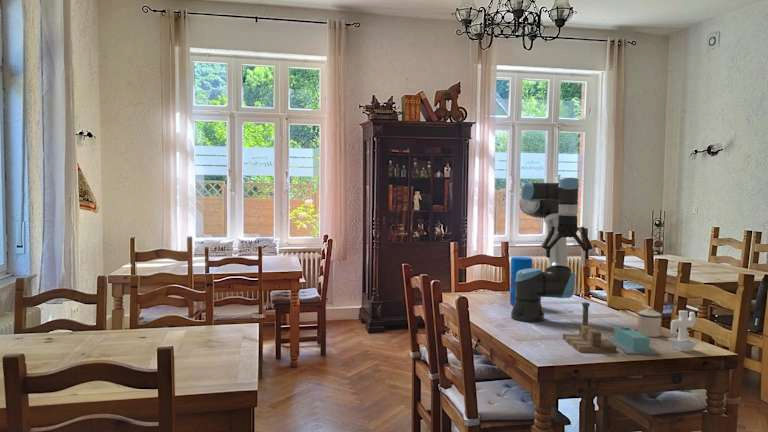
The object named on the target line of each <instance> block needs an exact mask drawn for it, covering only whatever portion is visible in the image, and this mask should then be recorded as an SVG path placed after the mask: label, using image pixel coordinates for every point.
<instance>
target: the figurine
mask: <svg viewBox="0 0 768 432" xmlns="http://www.w3.org/2000/svg"><path fill="white" fill-rule="evenodd" d="M688 315H689V316H688ZM695 323H696V313H695V312H694V311H689V313H688V310H678V319H672V320H671V322H670V334H671V335H677V330H678V335H677V337H667V340H668V343H669V344H670V346H671V348H672V349H673V348H674V350H675V351H678V350H679V352H681V351H684V352H692V351H693V349H694V348H695V347H696V346H697V344H698V342H697V341H696V340H692V339H689V338H687V337H688V336H687V331H688V327H689V328H690V327H694V326H695Z"/></svg>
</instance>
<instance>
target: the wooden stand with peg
mask: <svg viewBox="0 0 768 432" xmlns="http://www.w3.org/2000/svg"><path fill="white" fill-rule="evenodd" d="M590 304H591V303H590V302H585V301H583V302H582V303H581V306H582V323H579V331H578V333H563V334H562V339H563V340H564V341H565V342H566V343H567V344H568V345H569V346H571V347H572V348H573V349H575V350H576V351H577V352H578V353H617V351H618V348H617V347H616V346H614V345H613V344H611V343H610V342H608V341H607V340H605V338H603V337H602V332H601V331H599V330H597V329H596V328H594V327H592V326H591V325H589V307H590Z"/></svg>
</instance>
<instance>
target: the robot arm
mask: <svg viewBox="0 0 768 432" xmlns="http://www.w3.org/2000/svg"><path fill="white" fill-rule="evenodd" d="M558 181H559V182H522V184H521V187H520V188H521V191H520V192H521V193H520V194H521V195H520V196H521V198H520V200H519V209H520V210H521V212H522V213H524V214H525V215H526V216H529V217H532V218H539V219H540V218H541V219H543V221H544V223H545V224H547V226H546V227H547V235H546V237H545V239H544V241H543V243H542V245H541V248H542V249H545V257H546V258H547V265H548V266H547V267H545V271H543V269H541V268H538V267H537V268H536V267H532V268H529V269H522V270H519V271H518V272H517V273H516V280H515V281H516V293H515V303H514V306H512V309H511V312H510V318H511V319H512V320H515V321H521V322H528V323H529V322H530V323H537V322H542V321H544V320H545V313H544V309H543V306H542V298H555V299H556V298H557V299H569V298H571V297H573V295H574V293H575V287H576V286H575V285H576V278H577V277H576V273H575V272H572V267H570V266H569V265H568V247H567V238H569V239H571V238H573V239H574V240H575V241H576V242H577V244H578V245H579V246H580V247H581V250H580V267H583V268H584V267H586V259H588V252H589V251H590V250H592V249H593V246H592V243H591V242H590V239H589V237H588V235H587V233H586V228H585V226H579V227H578V216H577V215H578V208H579V207H578V203H579V202H578V201H579V199H578V198H579V179H578V178H577V177H560V178H559V180H558ZM578 232H579V233H580V235H581V237H582V239H583V241H584V242H583V241H582V240H581V238H580V237H579V235H578V234H577V233H578Z"/></svg>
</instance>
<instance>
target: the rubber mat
mask: <svg viewBox="0 0 768 432" xmlns="http://www.w3.org/2000/svg"><path fill="white" fill-rule="evenodd" d="M604 339H605V340H607V341H608V342H610V343H611V344H613V345H614V346H616V347H617V350H620V351H621V352H623V353H625V354H626V355H643V356H644V355H646V356H649V355H653V356H654V355H655V356H660V354H661V353H660V352H658V351H657V350H655V349H654V348H652V347H650V346H649V351H632V350H630V349H629V348H627V347H626V346H624V345H622V344H621V343H619V342H618V341H616V340H614V337H605V338H604Z"/></svg>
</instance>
